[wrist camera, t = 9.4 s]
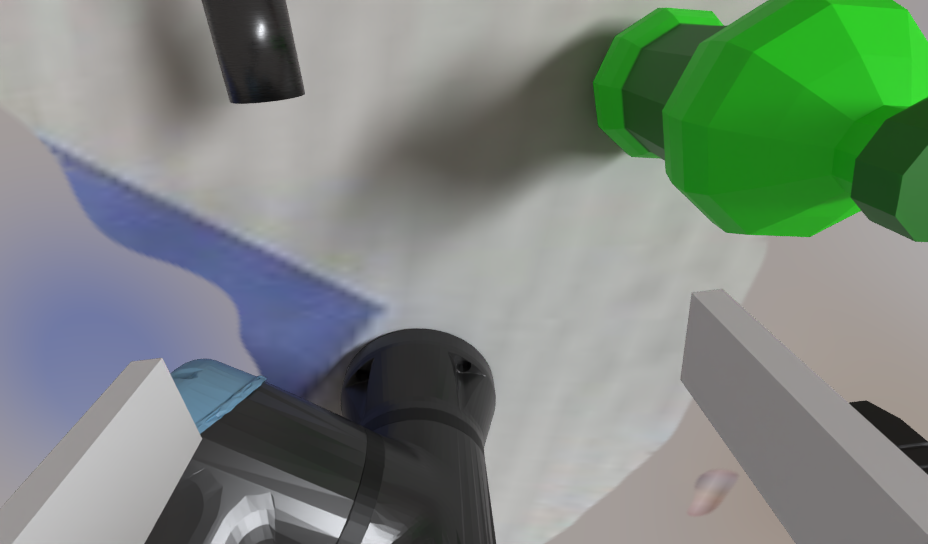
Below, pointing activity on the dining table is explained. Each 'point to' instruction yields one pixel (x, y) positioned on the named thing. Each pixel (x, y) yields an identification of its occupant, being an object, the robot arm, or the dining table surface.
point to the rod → (255, 49)
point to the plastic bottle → (778, 112)
